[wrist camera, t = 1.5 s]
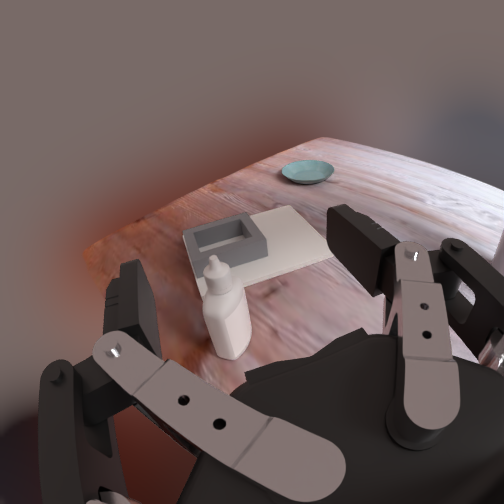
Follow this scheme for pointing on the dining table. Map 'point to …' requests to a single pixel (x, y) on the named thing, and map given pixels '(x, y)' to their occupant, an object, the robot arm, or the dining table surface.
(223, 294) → the eye dropper bottle
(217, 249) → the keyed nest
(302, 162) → the saucer
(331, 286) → the dining table surface
